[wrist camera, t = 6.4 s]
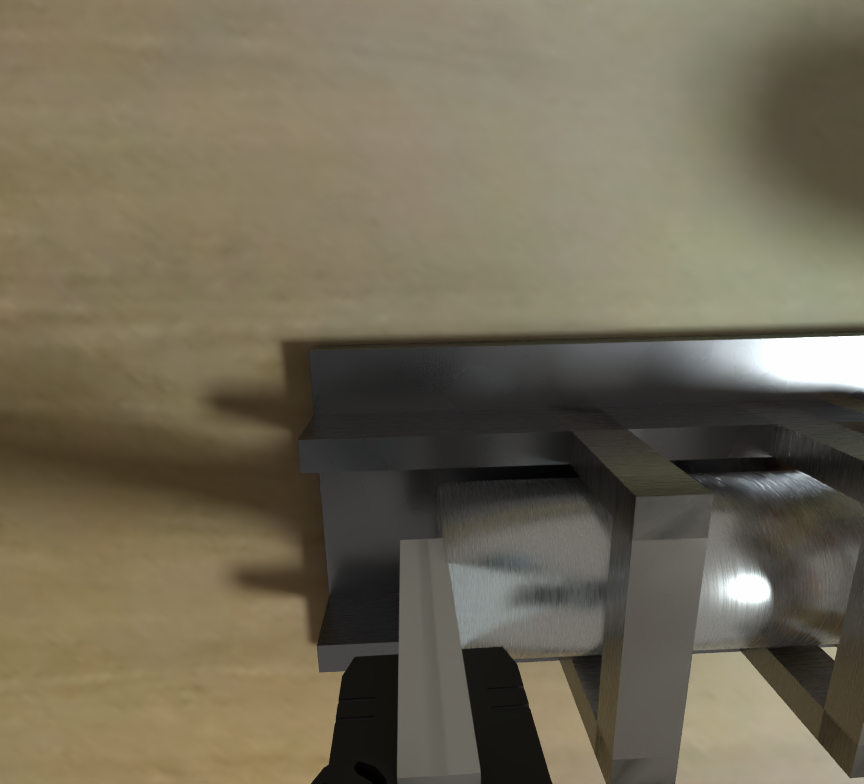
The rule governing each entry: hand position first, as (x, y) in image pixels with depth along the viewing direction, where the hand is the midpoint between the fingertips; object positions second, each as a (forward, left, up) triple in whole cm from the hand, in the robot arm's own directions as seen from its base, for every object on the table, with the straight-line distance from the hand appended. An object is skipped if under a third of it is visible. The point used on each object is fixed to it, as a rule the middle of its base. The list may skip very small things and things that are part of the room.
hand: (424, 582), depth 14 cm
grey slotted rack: (+7, 0, -4) cm, 8 cm away
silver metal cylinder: (+8, 0, -3) cm, 8 cm away
